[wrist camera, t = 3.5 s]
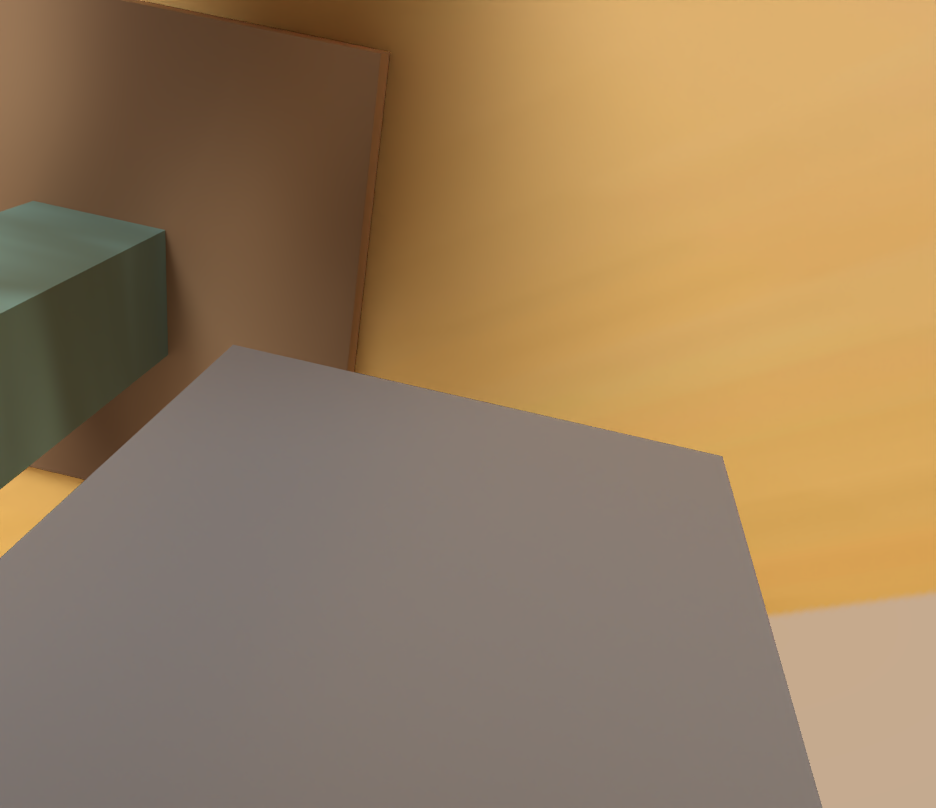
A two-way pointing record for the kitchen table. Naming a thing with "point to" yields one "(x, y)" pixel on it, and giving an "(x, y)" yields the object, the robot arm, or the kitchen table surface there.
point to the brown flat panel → (169, 211)
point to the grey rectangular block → (389, 614)
